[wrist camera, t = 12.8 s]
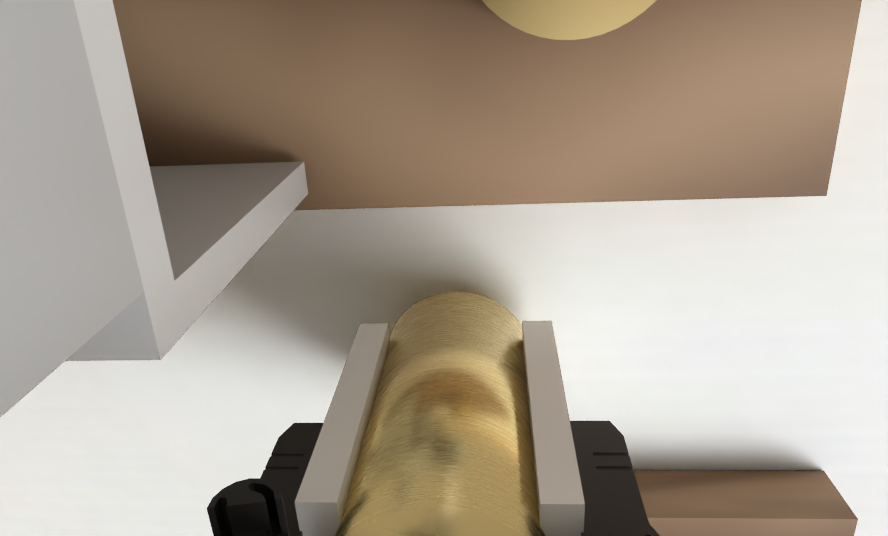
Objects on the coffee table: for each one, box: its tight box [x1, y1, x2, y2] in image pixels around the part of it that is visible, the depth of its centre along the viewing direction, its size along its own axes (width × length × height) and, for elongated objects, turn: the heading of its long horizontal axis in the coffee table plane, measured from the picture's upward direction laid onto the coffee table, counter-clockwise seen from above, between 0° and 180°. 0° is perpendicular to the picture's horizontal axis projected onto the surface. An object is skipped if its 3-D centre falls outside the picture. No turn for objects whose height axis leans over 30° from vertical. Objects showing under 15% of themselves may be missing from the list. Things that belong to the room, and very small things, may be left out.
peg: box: [335, 292, 546, 536], centre depth 15 cm, size 4×4×8 cm
